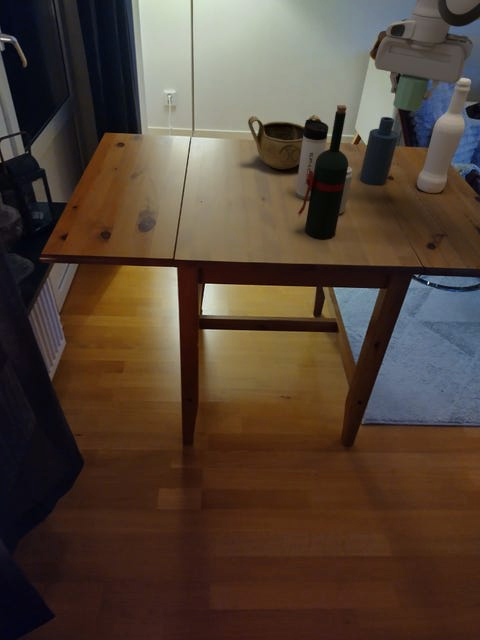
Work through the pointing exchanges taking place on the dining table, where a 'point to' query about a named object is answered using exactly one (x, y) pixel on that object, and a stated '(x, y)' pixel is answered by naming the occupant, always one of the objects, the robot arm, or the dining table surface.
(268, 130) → the ceramic bowl
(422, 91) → the paper cup
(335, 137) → the wine bottle
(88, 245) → the dining table surface
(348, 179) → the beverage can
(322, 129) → the travel mug
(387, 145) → the water bottle
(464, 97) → the bottle
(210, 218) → the dining table surface
